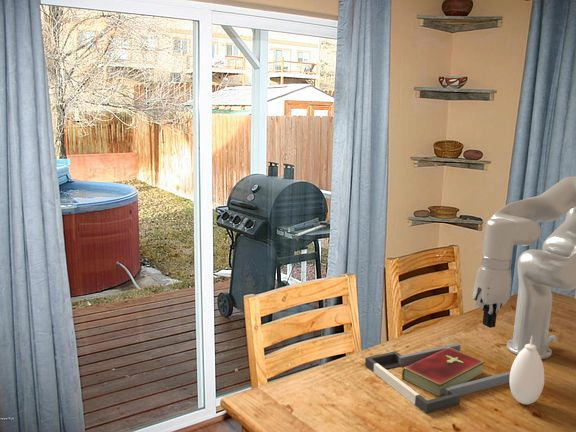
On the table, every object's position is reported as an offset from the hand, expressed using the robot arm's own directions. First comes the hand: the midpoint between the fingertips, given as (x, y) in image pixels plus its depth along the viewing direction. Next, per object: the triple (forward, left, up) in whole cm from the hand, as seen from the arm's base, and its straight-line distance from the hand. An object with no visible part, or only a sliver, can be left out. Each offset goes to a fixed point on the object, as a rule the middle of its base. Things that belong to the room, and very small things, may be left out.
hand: (488, 325), depth 151 cm
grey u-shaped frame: (+16, 0, -12) cm, 20 cm away
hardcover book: (+15, 0, -13) cm, 20 cm away
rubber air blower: (+6, +19, -12) cm, 23 cm away
